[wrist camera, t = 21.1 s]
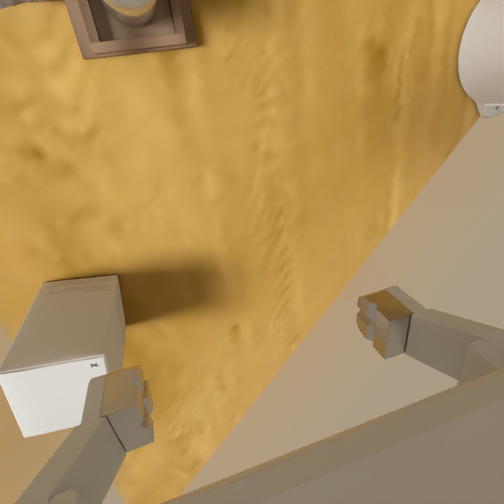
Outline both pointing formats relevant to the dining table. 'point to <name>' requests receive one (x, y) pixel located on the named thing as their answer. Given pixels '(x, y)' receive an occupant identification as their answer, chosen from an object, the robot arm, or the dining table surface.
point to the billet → (131, 11)
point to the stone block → (14, 2)
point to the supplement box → (63, 352)
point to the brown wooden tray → (130, 29)
